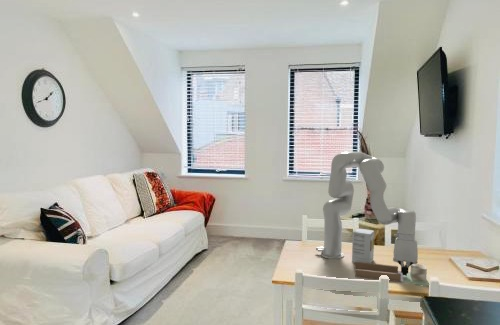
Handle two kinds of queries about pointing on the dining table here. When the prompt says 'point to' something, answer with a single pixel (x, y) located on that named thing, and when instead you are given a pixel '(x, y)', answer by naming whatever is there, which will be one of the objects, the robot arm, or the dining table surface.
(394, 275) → the channel board
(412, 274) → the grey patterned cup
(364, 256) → the supplement box
